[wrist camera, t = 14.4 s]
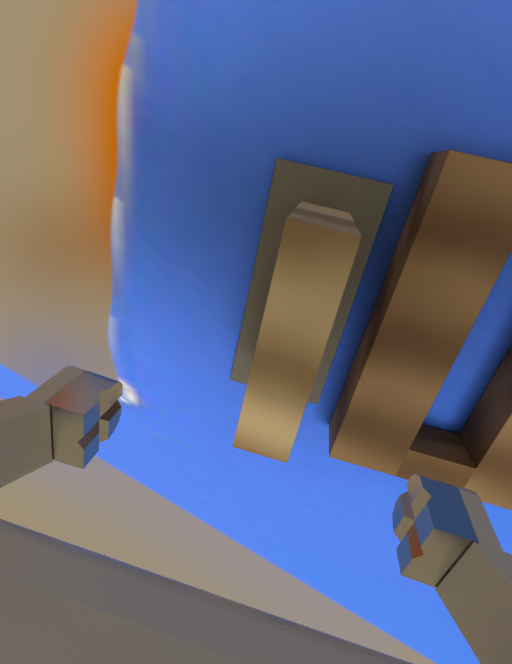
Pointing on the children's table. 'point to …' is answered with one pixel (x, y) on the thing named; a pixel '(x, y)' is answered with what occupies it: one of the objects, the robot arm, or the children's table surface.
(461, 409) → the children's table surface
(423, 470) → the walnut case
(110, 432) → the robot arm
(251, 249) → the children's table surface
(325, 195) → the grey flat slab
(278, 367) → the oak cover plate
